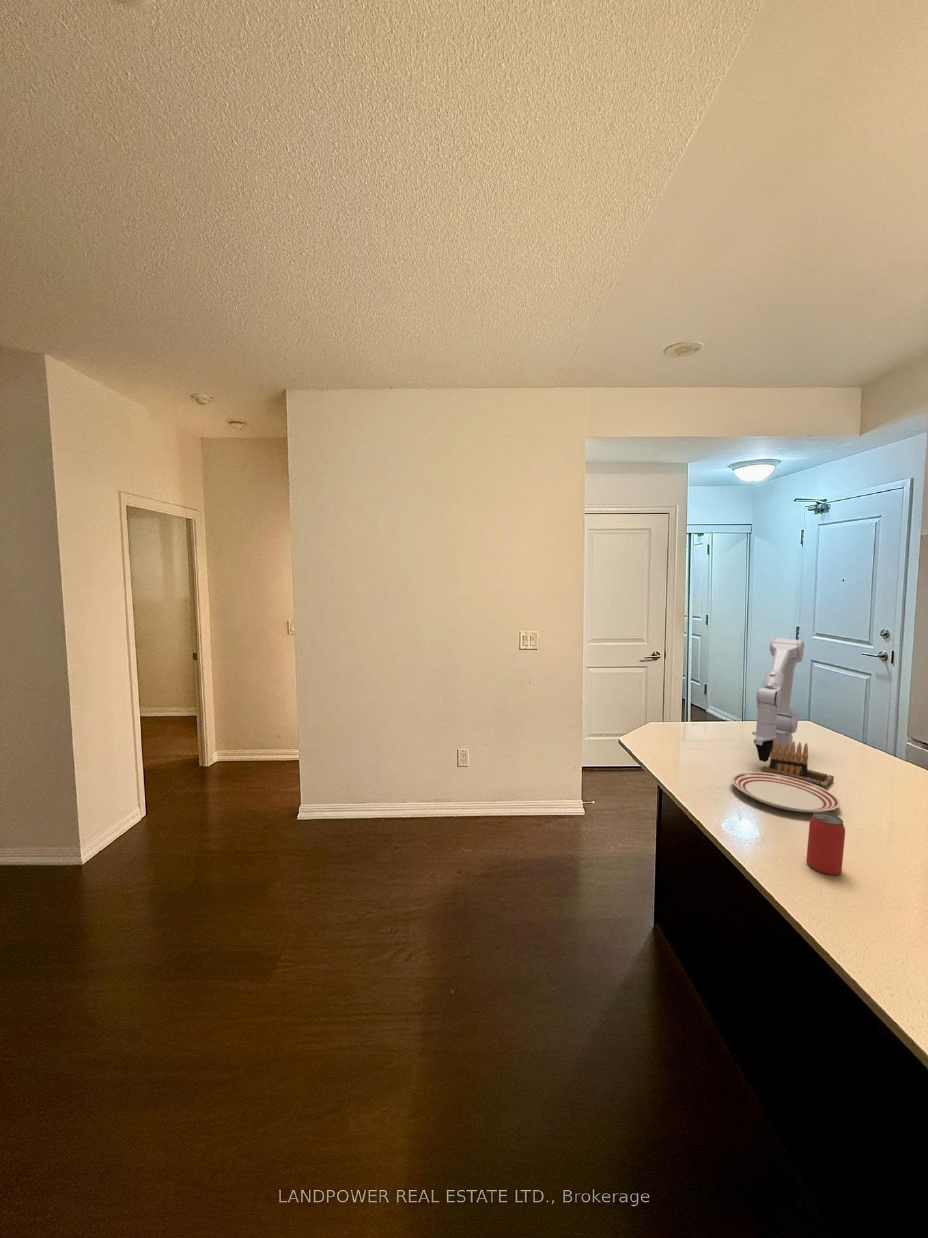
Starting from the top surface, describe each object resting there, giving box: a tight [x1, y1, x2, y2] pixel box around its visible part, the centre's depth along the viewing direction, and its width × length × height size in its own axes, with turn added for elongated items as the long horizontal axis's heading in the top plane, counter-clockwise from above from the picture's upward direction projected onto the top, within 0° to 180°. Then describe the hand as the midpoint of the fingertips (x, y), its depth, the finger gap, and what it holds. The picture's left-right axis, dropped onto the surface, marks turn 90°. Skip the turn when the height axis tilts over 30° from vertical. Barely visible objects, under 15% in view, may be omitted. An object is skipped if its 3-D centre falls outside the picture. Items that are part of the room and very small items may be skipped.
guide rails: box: [761, 764, 835, 791], centre depth 163 cm, size 11×18×2 cm, turn 42°
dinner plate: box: [731, 771, 841, 813], centre depth 148 cm, size 28×27×3 cm
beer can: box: [805, 812, 846, 876], centre depth 112 cm, size 7×7×12 cm
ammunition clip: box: [769, 739, 809, 778], centre depth 164 cm, size 11×2×12 cm, turn 64°
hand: (763, 760), depth 170 cm, fingers closed
